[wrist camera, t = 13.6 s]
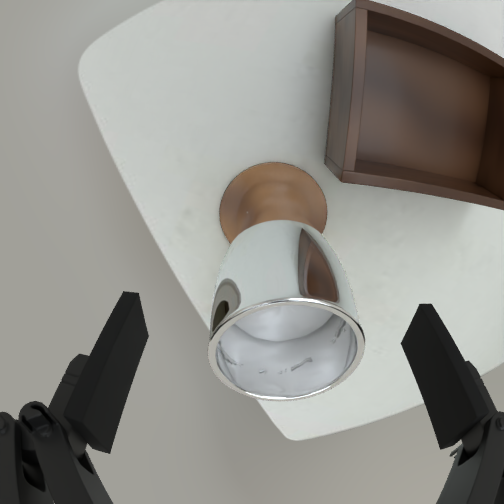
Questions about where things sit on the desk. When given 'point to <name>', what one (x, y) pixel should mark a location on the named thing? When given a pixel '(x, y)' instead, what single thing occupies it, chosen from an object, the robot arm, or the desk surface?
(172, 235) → the desk surface
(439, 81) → the crate
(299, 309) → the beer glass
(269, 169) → the coaster
